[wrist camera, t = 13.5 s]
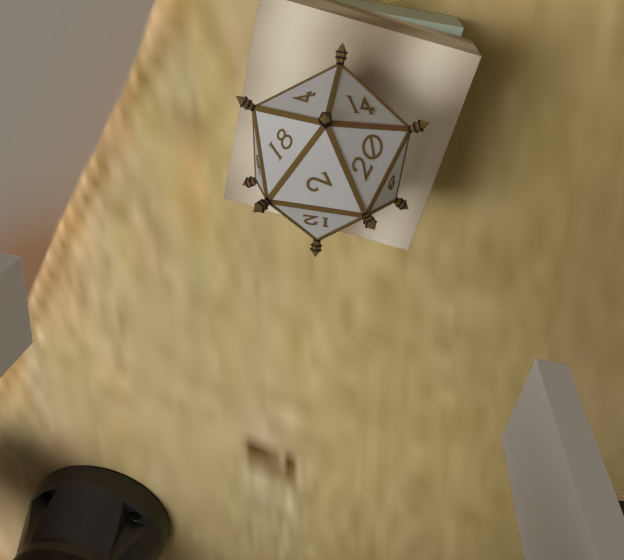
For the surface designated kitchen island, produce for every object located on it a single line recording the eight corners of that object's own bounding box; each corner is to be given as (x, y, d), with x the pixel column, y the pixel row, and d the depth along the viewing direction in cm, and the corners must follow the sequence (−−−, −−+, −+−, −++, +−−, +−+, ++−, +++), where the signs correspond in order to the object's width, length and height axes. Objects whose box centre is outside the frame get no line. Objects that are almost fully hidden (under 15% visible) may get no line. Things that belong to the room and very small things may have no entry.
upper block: (243, 168, 39) (223, 198, 34) (279, -16, 33) (260, -8, 29) (407, 215, 39) (407, 250, 34) (471, 39, 33) (481, 56, 29)
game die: (332, 78, 34) (329, -35, 24) (442, 181, 33) (487, 108, 23) (219, 189, 33) (167, 120, 23) (327, 297, 32) (321, 273, 22)
